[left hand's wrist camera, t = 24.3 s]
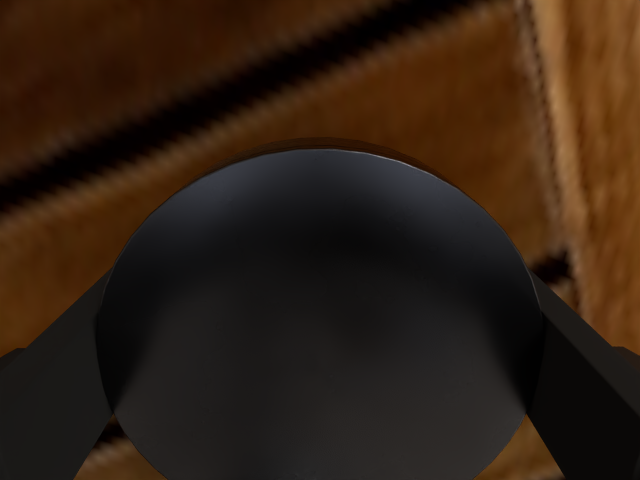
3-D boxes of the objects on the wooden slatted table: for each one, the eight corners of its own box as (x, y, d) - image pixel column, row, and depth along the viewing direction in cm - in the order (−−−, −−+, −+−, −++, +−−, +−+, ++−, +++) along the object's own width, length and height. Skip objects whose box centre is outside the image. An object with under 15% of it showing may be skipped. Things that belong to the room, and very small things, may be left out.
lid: (119, 454, 13) (93, 504, 12) (132, 99, 10) (97, 103, 8) (453, 499, 14) (469, 552, 12) (574, 179, 11) (617, 197, 9)
